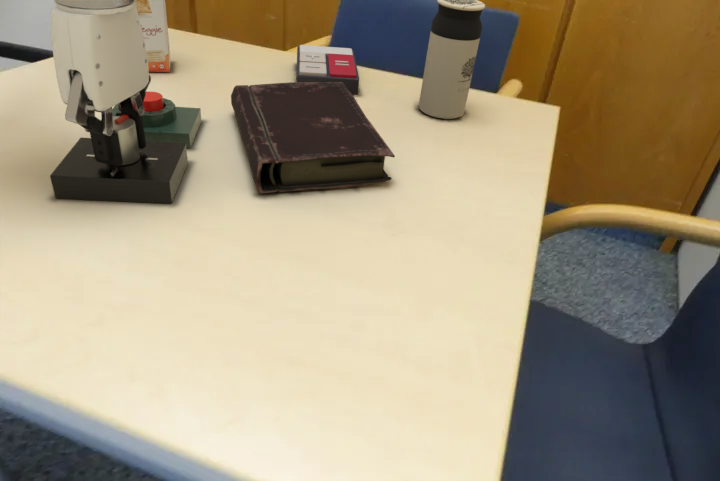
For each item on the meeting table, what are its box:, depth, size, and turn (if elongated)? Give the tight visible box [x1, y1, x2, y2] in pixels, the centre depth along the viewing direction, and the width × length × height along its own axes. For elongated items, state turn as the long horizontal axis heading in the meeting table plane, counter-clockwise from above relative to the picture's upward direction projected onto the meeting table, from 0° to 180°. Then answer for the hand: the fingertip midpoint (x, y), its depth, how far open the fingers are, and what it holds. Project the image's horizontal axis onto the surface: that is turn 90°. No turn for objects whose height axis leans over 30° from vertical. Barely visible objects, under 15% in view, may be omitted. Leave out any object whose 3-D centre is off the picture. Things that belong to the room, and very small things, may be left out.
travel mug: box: [418, 0, 486, 120], centre depth 91 cm, size 8×8×18 cm
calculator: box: [295, 44, 360, 96], centre depth 103 cm, size 11×4×15 cm
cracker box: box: [135, 0, 172, 73], centre depth 94 cm, size 14×6×21 cm, turn 104°
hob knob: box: [100, 114, 140, 165], centre depth 65 cm, size 4×4×5 cm
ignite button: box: [143, 91, 164, 112], centre depth 77 cm, size 4×4×2 cm
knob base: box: [49, 137, 189, 205], centre depth 67 cm, size 13×10×3 cm
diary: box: [230, 81, 396, 194], centre depth 79 cm, size 19×25×5 cm
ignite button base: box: [112, 97, 202, 149], centre depth 79 cm, size 12×9×4 cm
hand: (121, 152), depth 66 cm, fingers closed on hob knob, 4 cm apart
